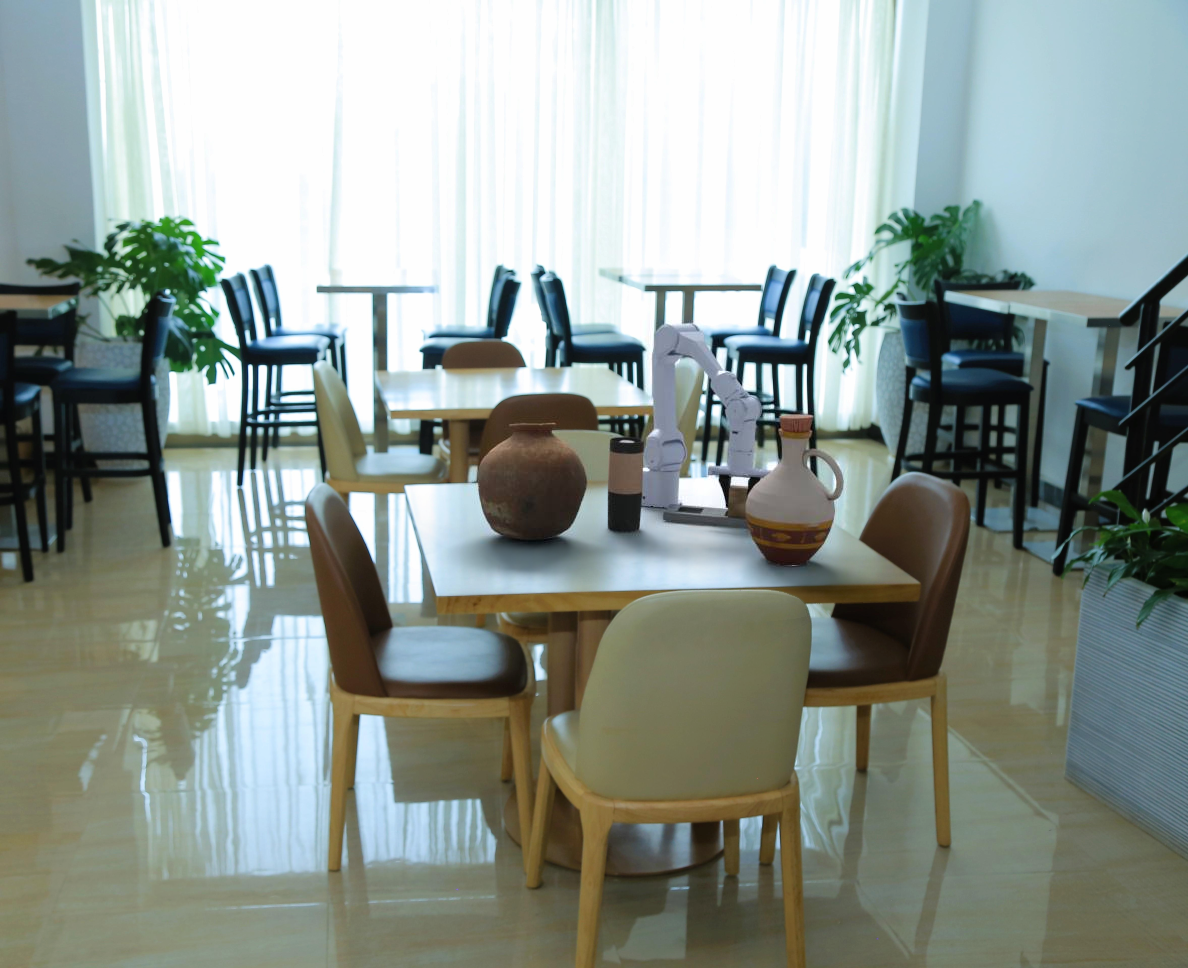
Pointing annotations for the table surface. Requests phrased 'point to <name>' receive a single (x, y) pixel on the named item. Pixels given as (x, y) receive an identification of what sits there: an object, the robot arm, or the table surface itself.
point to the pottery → (531, 484)
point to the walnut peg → (737, 501)
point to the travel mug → (625, 484)
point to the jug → (793, 500)
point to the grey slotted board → (703, 516)
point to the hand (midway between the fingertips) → (737, 508)
